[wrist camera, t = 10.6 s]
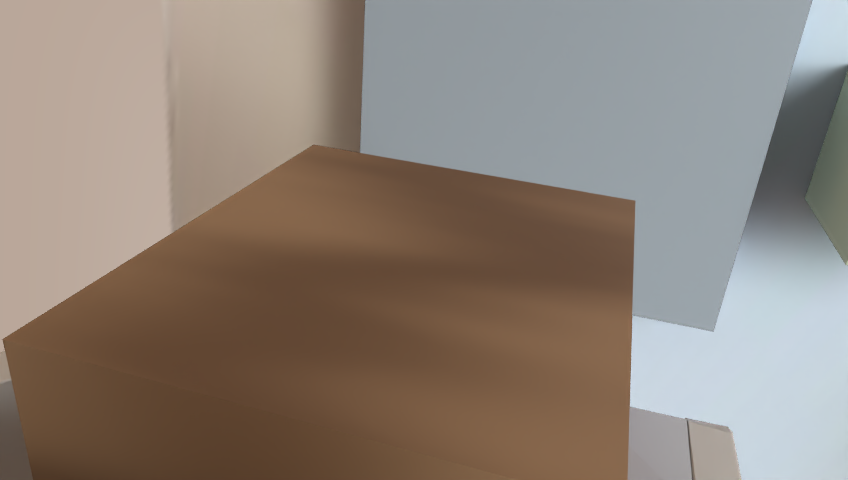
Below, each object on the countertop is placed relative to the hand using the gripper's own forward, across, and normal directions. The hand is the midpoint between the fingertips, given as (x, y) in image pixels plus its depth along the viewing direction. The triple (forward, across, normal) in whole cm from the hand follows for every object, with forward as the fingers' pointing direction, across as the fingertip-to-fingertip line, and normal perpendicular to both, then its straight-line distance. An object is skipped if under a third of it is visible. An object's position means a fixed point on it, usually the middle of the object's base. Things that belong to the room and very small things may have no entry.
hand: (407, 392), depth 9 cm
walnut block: (+2, 0, 0) cm, 2 cm away
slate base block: (+20, 0, 0) cm, 20 cm away
